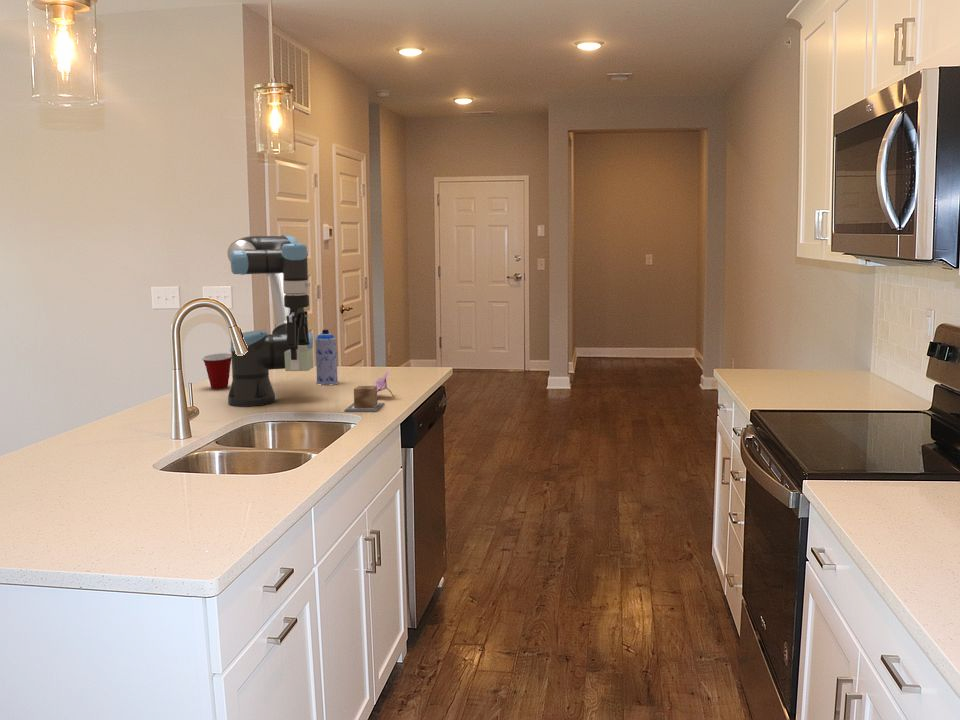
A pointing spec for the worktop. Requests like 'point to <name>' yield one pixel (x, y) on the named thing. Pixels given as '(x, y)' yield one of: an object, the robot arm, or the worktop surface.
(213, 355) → the plastic cup
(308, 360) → the sage block
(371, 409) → the slate build plate
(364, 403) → the walnut block
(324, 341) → the aerosol can
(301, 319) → the robot arm
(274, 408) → the worktop surface
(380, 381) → the lily
